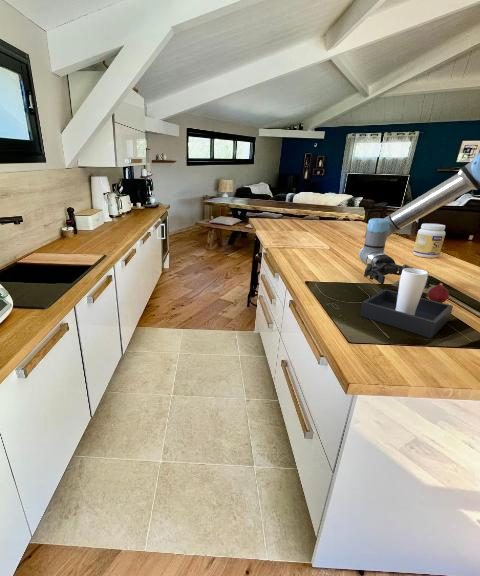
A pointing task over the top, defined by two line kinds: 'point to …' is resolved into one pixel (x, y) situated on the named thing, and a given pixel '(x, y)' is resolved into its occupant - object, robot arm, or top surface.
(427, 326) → the dark grey tray
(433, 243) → the supplement tub
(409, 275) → the drinking glass
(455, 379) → the top surface
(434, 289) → the onion
